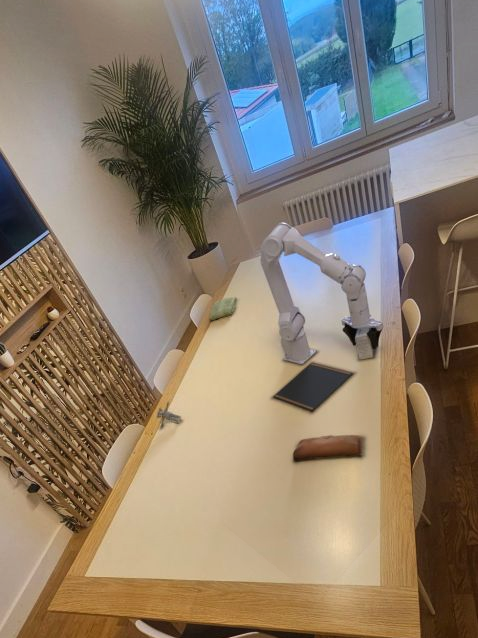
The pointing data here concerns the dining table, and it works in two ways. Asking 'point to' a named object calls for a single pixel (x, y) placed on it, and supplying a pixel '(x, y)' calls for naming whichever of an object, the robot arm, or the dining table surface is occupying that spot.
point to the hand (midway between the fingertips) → (365, 345)
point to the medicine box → (363, 343)
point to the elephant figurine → (167, 415)
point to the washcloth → (223, 308)
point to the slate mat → (312, 386)
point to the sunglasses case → (328, 447)
